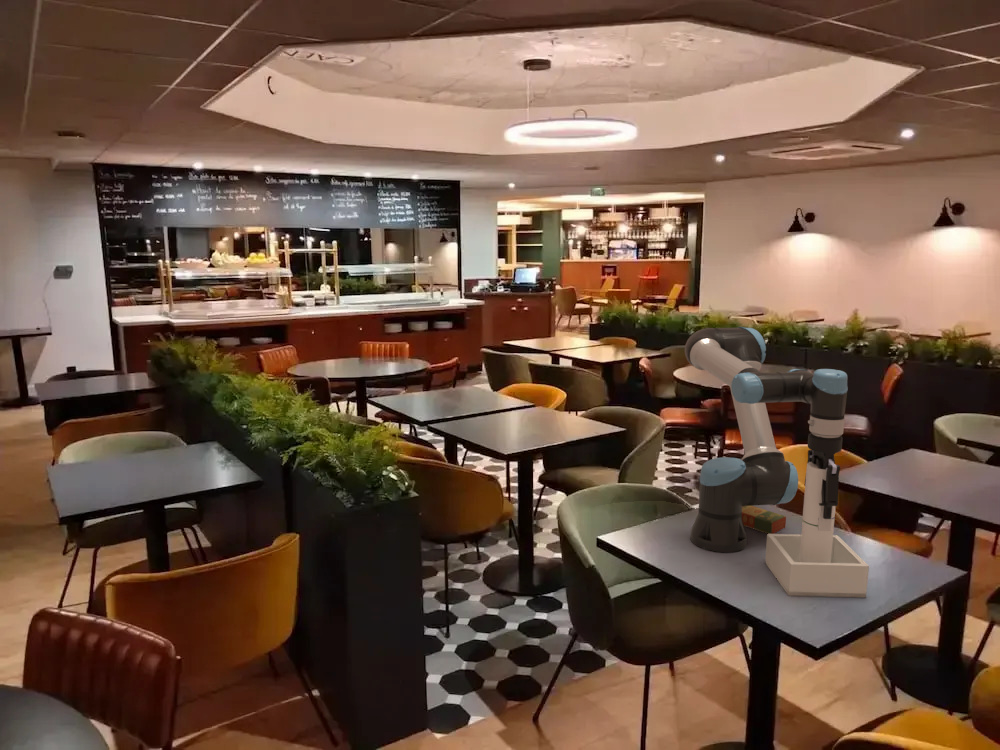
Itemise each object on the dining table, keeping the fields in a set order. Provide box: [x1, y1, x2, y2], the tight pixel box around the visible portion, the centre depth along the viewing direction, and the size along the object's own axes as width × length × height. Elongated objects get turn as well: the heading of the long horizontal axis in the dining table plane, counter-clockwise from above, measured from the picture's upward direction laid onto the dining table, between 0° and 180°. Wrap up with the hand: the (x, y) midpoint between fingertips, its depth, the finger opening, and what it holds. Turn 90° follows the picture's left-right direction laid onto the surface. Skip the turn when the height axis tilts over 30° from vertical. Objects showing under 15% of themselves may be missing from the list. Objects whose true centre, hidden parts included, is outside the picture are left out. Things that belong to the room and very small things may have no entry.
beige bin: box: [764, 533, 870, 599], centre depth 179 cm, size 18×18×8 cm
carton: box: [742, 505, 787, 534], centre depth 216 cm, size 8×16×4 cm, turn 40°
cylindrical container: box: [799, 462, 837, 563], centre depth 177 cm, size 7×7×25 cm
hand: (817, 523), depth 177 cm, fingers closed on cylindrical container, 7 cm apart
